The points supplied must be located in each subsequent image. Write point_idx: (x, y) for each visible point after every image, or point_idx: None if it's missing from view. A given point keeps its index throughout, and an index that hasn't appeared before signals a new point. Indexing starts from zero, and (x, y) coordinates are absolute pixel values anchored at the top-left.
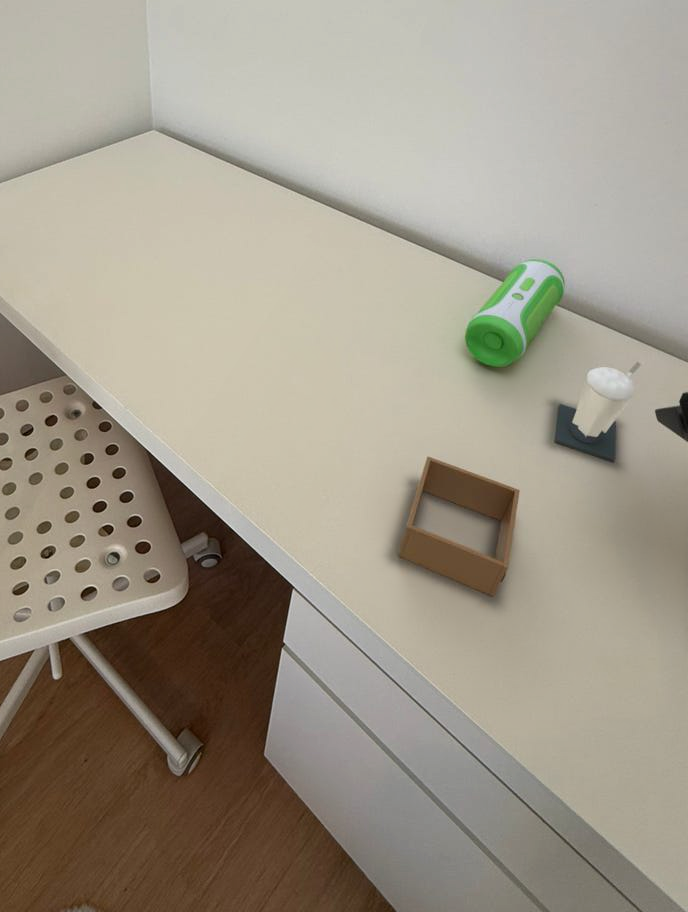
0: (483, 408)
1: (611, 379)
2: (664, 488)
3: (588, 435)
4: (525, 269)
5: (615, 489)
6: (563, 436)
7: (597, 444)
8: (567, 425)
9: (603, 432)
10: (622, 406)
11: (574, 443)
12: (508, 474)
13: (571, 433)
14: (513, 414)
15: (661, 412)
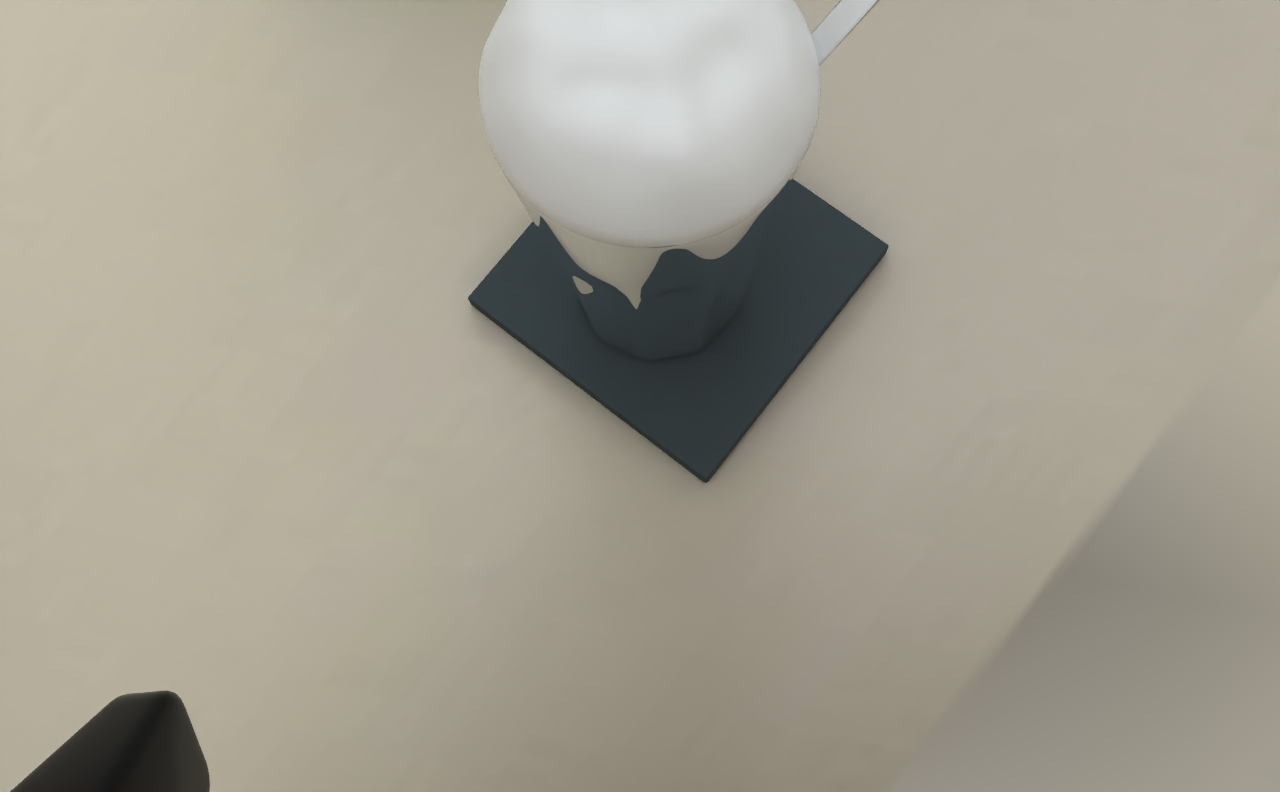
0: (240, 36)
1: (605, 61)
2: (874, 694)
3: (601, 327)
4: None
5: (597, 644)
6: (526, 283)
7: (678, 366)
8: None
9: (676, 334)
10: (671, 268)
11: (554, 337)
12: (96, 443)
13: None
14: (373, 99)
15: None
